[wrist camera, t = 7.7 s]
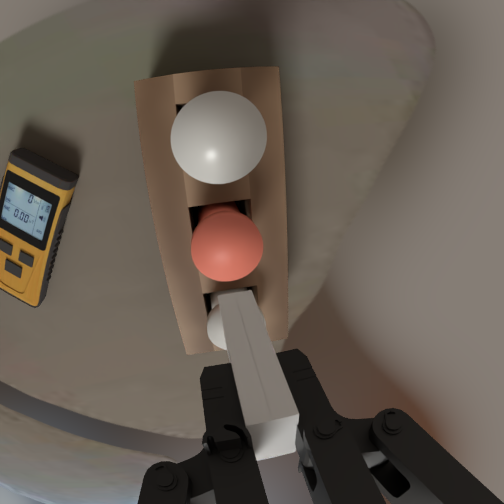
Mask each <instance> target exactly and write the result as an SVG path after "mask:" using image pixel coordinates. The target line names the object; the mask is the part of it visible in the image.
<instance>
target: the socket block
mask: <svg viewBox="0 0 504 504" xmlns="http://www.w3.org/2000/svg"><path fill="white" fill-rule="evenodd" d="M134 87H135V98H136V108H137V117H138V126H139V134H140V142H141V149H142V156H143V163H144V169H145V176H146V182H147V188H148V193H149V199H150V205H151V210H152V215H153V220H154V225H155V230H156V235H157V240H158V245H159V249H160V254H161V258H162V263H163V267H164V271H165V276H166V280H167V284H168V288H169V292H170V296H171V300H172V304H173V307H174V311H175V315H176V318H177V322H178V326H179V329H180V333H181V336H182V340H183V343H184V347H185V350H186V353H187V355H190V354H198V353H205V352H212V351H218V350H225V349H222V348H219V347H217V346H216V345H214V344H213V343H212V342H211V340H210V339H209V337H208V332H207V317H208V315H209V313H210V311H211V310H212V306H211V299H210V298H207V297H206V293H211V292H217V291H224V290H230V289H237V288H243V287H248V290H252V293H253V295H254V298H255V301H256V303H257V305H258V306H259V307H260V309H261V310H262V313H263V315H264V318H265V321H266V330H267V332H268V335H269V337H270V340H271V341H276V340H281V339H286V338H288V252H287V212H286V183H285V160H284V140H283V122H282V105H281V90H280V76H279V66H270V67H239V68H224V69H212V70H202V71H193V72H185V73H178V74H171V75H165V76H159V77H153V78H148V79H143V80H138V81H134ZM212 91H228V92H232V93H236V94H238V95H241V96H243V97H245V98H246V99H248V100H249V101H250V102H251V103H253V104H254V105H255V106H256V108H257V109H258V110H259V112H260V113H261V115H262V117H263V119H264V122H265V125H266V131H267V142H266V147H265V151H264V153H263V156H262V158H261V159H260V161H259V163H258V164H257V165H256V167H255V168H254V169H253V170H252V171H251V172H249V173H248V174H247V175H245V176H244V177H242V178H240V179H238V180H236V181H233V182H230V183H225V184H210V183H205V182H202V181H199V180H197V179H195V178H193V177H192V176H190V175H189V174H187V173H186V172H185V171H184V170H183V169H182V168H181V167H180V165H179V164H178V162H177V161H176V159H175V157H174V154H173V151H172V147H171V130H172V126H173V123H174V120H175V118H176V116H177V114H178V113H179V112H180V107H184V106H185V105H186V104H187V103H188V102H189V101H190V100H192V99H194V98H195V97H197V96H199V95H201V94H204V93H207V92H212ZM237 200H240V202H241V213H242V214H244V215H246V216H247V217H249V218H250V219H251V220H252V221H253V222H254V224H255V225H256V227H257V228H258V230H259V232H260V234H261V236H262V240H263V254H262V257H261V260H260V262H259V263H258V265H257V266H256V268H255V269H254V270H253V271H252V272H250V273H249V274H248V275H246V276H245V277H243V278H240V279H238V280H234V281H217V280H213V279H211V278H208V277H207V276H205V275H204V274H202V273H201V272H200V271H199V270H198V269H197V267H196V266H195V264H194V262H193V259H192V255H191V239H192V235H193V232H194V230H195V226H194V220H193V213H192V207H193V206H200V205H207V204H214V203H222V202H229V201H237Z"/></svg>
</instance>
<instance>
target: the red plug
mask: <svg viewBox="0 0 504 504" xmlns="http://www.w3.org/2000/svg"><path fill="white" fill-rule="evenodd" d="M262 254H263V240H262V236H261V234H260V232H259V230H258V228H257V227H256V225H255V224H254V222H253V221H252V220H251V219H250V218H249V217H247V216H246V215H244V214H242V213H240V211H239V209H238V207H237V205H236V203H235V202H234V201H229V202H222V203H214V204H207V205H200V206H199V209H198V225H197V227H196V228H195V230H194V232H193V235H192V239H191V255H192V259H193V262H194V264H195V266H196V267H197V269H198V270H199V271H200V272H201V273H202V274H204V275H205V276H207V277H208V278H211V279H213V280H217V281H234V280H238V279H240V278H243V277H245V276H246V275H248V274H249V273H250V272H252V271H253V270H254V269H255V268H256V266H257V265H258V263H259V262H260V260H261V257H262Z"/></svg>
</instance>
